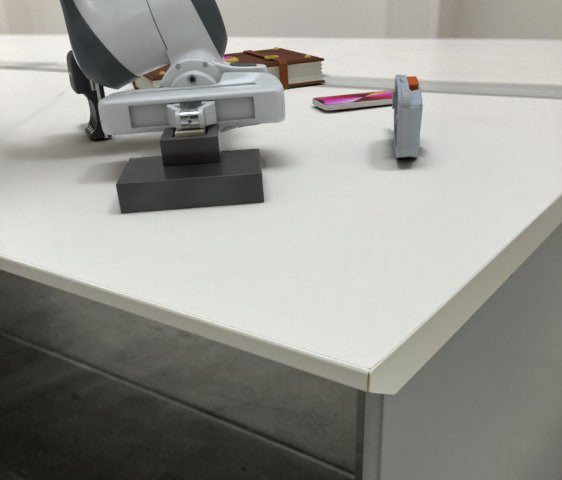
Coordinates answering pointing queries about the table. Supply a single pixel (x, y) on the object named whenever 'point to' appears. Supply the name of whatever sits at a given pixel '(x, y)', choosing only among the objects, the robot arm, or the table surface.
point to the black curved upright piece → (92, 93)
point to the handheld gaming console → (407, 116)
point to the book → (278, 62)
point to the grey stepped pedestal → (191, 175)
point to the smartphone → (354, 100)
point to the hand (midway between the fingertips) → (189, 121)
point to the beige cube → (190, 132)
